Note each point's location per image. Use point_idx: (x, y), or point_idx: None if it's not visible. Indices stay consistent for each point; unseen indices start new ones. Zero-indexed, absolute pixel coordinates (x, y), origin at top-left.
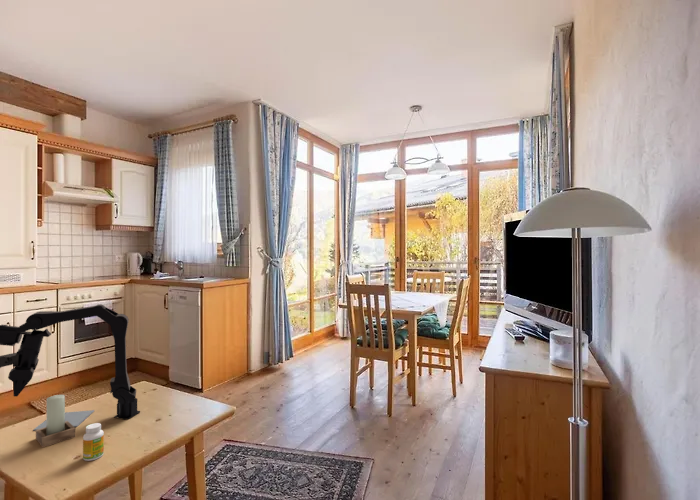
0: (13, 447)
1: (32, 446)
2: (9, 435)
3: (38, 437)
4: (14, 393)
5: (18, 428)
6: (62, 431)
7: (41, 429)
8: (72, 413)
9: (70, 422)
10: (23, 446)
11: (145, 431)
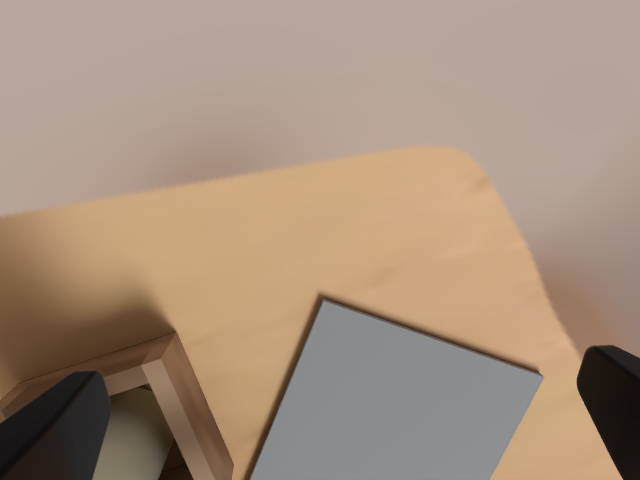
0: (104, 237)
1: (64, 332)
2: (327, 181)
3: (101, 366)
4: (21, 421)
5: (422, 211)
6: None
7: (152, 388)
8: (469, 465)
9: (315, 473)
10: (90, 286)
11: None
